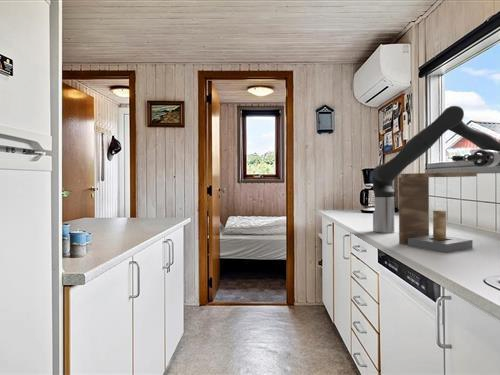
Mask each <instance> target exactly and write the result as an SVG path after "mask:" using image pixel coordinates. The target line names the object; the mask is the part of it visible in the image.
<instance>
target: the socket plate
mask: <svg viewBox="0 0 500 375" xmlns="http://www.w3.org/2000/svg"><path fill="white" fill-rule="evenodd" d="M473 241H474V240H473V239H469V238H462V237H452V236H448V235H446V241H438V240H433V234H429V235H428V236H421V237H414V238H408V244H407V246H408V247H412V248H417V249H422V248H423V249H424V250H428V251H433V252H440V253H452V252H457V251H458V250H459V251H463V250H468V249H473V243H474V242H473Z"/></svg>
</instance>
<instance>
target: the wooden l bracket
mask: <svg viewBox="0 0 500 375" xmlns="http://www.w3.org/2000/svg"><path fill="white" fill-rule="evenodd" d="M477 174H478V173H477V172H476V171H473V172H471V171H470V172H426V173H425V172H423V173H420V172H419V173H400V177H398V239H399V240H398V244H399V245H408V238H414V237H421V236H428V235H430V195H429V194H430V189H429V188H430V181H429V180H430V178H462V177H463V178H466V177H467V178H469V177H478V176H477Z"/></svg>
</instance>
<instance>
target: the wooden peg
mask: <svg viewBox="0 0 500 375" xmlns="http://www.w3.org/2000/svg"><path fill="white" fill-rule="evenodd" d="M432 215H433V216H432V221H433V222H432V225H433V226H432V235H433V240H438V241H446V236H447V211H446V210H444V209H443V210H442V209H436V210H432Z"/></svg>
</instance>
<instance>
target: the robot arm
mask: <svg viewBox="0 0 500 375" xmlns="http://www.w3.org/2000/svg"><path fill="white" fill-rule="evenodd" d="M464 117H465V111H464V109H463V107H461V106H459V105H451V106H448V107H447V108H445V109H444V110H443V111H442V112H441V113H440V115H439V116H437V118H436V119H435V120H434V121H433V122H431V123H430V124H429V125H427V126H426V127H425V128H423V129H421V130H420V131H419V132H417V134H415V135H413V137H412V138H410V139H409V140H408V141H407V142H406V143H405V144H404V145H403V147H401V149H400V151H399V152H398V153H397V154H396V155H395V156H394V157H392V158H391V159H389V161H386V163H383V164H378V165H377V166H375V167H374V169H373V170H372V190H373V195H374V198H373V199H374V200H373V201H374V211H373V212H372V231H373V232H375V233H383V234H391V233H395V191H394V189H393V185H392V182H393V181H394V180H395V179H396V178H397V177H398V176H399V175H401V174H402V172H403V171H404V170H405V169H406V168H407V167H408V166H409V165H410V164H412V163H414V162H415V161H416V160H417V159H418V158H420V157H421V156H423V154H425V153H426V152H428V151H429V149H431V148H432V147H433V146H434V144H436V142H437V141H438V140H439V139H440V138H441V137H442V136H443V134H445V133H446V132H447V131H450V132H453V133H454V134H456V135H458V136H460V137H461V138H463V139H465V140H467V141H469V142H470V143H471V144H473V145H475V146H476V147H478V148H479V149H478V150H475V151H474V152H473V153H469V154H468V153H467V154H466V153H465V154H462V155H452V157H451V159H452V162H454V163H457V162H461V163H470V164H474V165H475V166H476V167H482V168H486V167H487V168H489V167H490V168H491V167H497V166H500V141H499V140H497V139H496V138H495V137H493V136H492V135H490V134H488V133H486V132H484V131H482V130H480V129H477V128H474V127H472V126H469V125H468V124H466V123H465V121H463V119H464Z"/></svg>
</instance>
